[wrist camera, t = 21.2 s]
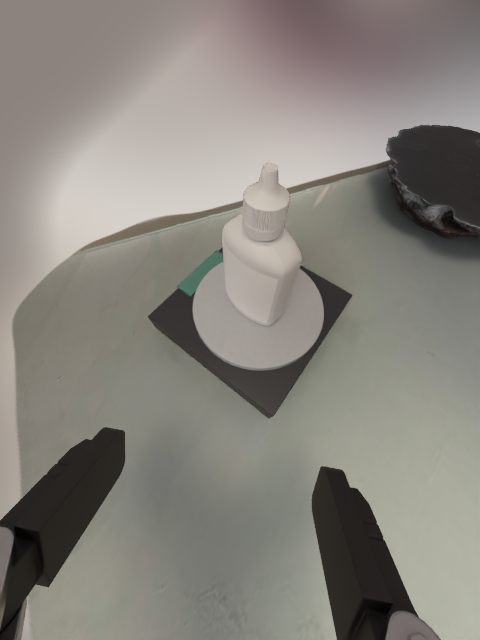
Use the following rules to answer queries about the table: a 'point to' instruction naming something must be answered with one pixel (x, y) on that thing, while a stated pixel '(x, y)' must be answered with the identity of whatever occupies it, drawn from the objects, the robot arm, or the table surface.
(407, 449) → the table surface
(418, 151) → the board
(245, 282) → the eye dropper bottle
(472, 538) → the table surface
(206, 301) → the scale
